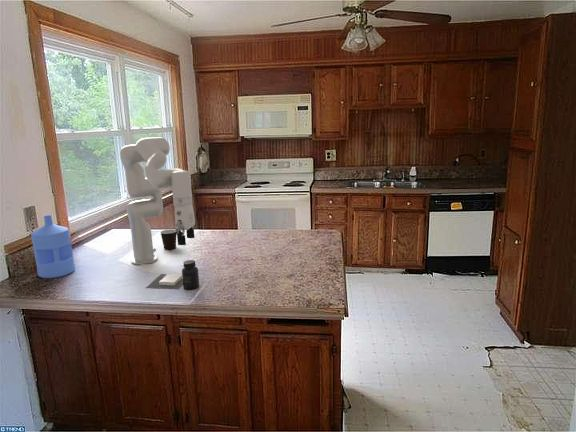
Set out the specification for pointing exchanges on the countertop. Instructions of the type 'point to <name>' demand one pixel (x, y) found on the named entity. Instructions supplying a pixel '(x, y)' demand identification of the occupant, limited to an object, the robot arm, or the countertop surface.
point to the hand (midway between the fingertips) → (186, 241)
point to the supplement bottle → (190, 275)
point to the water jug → (52, 250)
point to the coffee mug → (169, 239)
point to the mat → (156, 285)
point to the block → (171, 279)
